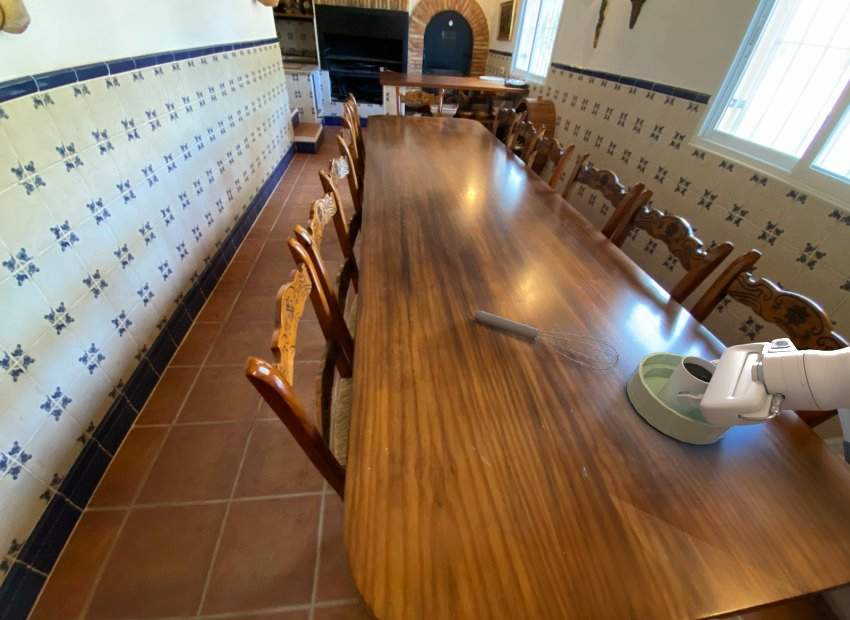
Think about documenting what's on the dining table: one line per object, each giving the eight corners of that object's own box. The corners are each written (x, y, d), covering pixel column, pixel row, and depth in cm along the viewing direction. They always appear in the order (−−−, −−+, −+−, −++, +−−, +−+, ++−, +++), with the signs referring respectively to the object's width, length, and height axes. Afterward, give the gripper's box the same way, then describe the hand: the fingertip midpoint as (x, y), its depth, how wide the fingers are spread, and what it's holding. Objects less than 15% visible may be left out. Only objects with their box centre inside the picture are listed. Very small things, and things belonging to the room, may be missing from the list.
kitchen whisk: (471, 309, 89) (475, 288, 85) (613, 363, 78) (625, 343, 74) (461, 323, 85) (465, 302, 81) (610, 382, 74) (622, 362, 70)
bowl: (719, 394, 73) (737, 375, 69) (727, 463, 61) (750, 445, 57) (629, 360, 79) (642, 340, 75) (621, 417, 67) (635, 398, 63)
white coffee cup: (701, 412, 68) (733, 378, 62) (676, 422, 66) (707, 388, 60) (671, 386, 73) (698, 352, 67) (647, 394, 71) (673, 360, 64)
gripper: (787, 440, 49) (675, 432, 61) (800, 365, 61) (705, 370, 72) (770, 401, 49) (660, 400, 60) (787, 333, 61) (693, 343, 72)
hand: (685, 383), depth 66 cm, fingers open, 8 cm apart
